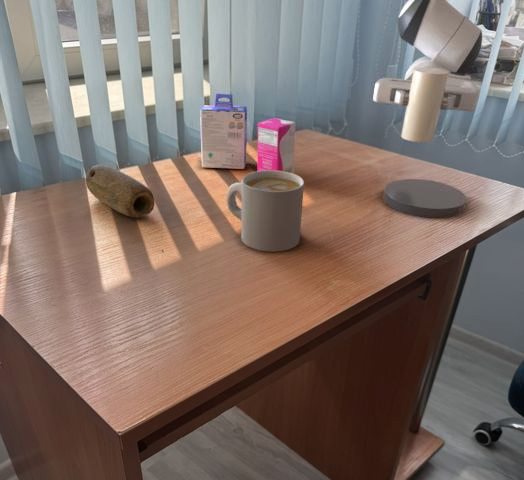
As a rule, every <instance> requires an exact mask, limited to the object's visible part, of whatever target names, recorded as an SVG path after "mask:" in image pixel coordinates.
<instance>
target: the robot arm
mask: <svg viewBox="0 0 524 480" xmlns="http://www.w3.org/2000/svg"><path fill="white" fill-rule="evenodd" d="M397 29H398V34H399V35H398V36H399V38H400V39H401V40H403V41H404V42H406V43H407V44H409V45H410V46H412V47H414V48H416V49H417V50H418V51H419V52H421V53H422V54H423V55H424V56H422V57H421V56H420V57H419V58H418V59H416V60H414V61H413V62H412V63H411V64H410V65H409V67H408V69H407V70H406V73H405V75H404V78H396V77H395V78H394V77H382V78H379V79H378V80H376V82H375V84H374V85H373V88H374V90H373V97H372V101H373V102H375V103H379V104H388V105H399V106H404V107H407V104H408V99H409V92H410V87H411V82H412V77H413V72H414V69H415V68H420V67H429V68H438V69H443V70H447V71H449V76H448V80H447V84H446V89H445V93H444V97H443V101H442V106H441V110H444V111H445V110H446V111H450V110H451V111H459V112H460V111H461V112H474V111H475V110H476V108H477V105H478V101H479V97H480V89H479V87H478V86H477V85H476V83H475V82H473V81H471V80H472V76H471V75H469V74H466V73H467V72H468V71H469V70H470V68H471V67H472V66H473V64H475V61H476V60H477V58H478V56H479V54H480V53H481V50H482V43H483V31H482V29H481V28H479V27H478V26H477V25H476V24H475V23H474V22H473V21H472V20H470V19H469V18H468V17H467V16H466V15H464V14H462V13H461V12H460V11H459V10H458V9H456V8H455V7H454V6H453V5H452V4H451V3H450V2H448V1H447V0H407V1H406V2H405V4H404V6H402V8H401V10H400V12H399V15H398V18H397ZM441 110H440V111H441Z"/></svg>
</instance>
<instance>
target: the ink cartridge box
mask: <svg viewBox="0 0 524 480" xmlns="http://www.w3.org/2000/svg"><path fill="white" fill-rule="evenodd" d="M222 98H223V99H224V98H225V99H227V100H229V101H223V100H222V101H221V100H219V99H222ZM199 120H200V121H199V122H200V147H201V148H200V149H201V151H200V154H201V168H209V169H211V168H212V169H213V168H214V169H216V168H217V169H233V170H234V169H236V170H245V167H246V164H247V144H248V143H247V141H248V140H247V139H248V108H247V106H246V105H234V103H233V94H228V93H227V94H225V93H216V94H215V102H214V105H213V104H212V105H211V104H203V105H202V107H201V109H199Z"/></svg>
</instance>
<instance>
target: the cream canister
mask: <svg viewBox="0 0 524 480" xmlns="http://www.w3.org/2000/svg"><path fill="white" fill-rule="evenodd" d="M448 76H449V71H447V70H443V69H438V68H429V67H420V68H415V69H414V72H413V77H412V82H411V87H410V92H409V99H408V104H407V106H405V107H406V108H405V113H404V118H403V122H402V128H401V133H400V137H401V138H402V139H403V140H406V141H409V142H412V143H424V144H425V143H431V142H433V141H434V140H435V136H436V131H437V127H438V123H439V119H440V114H441V106H442V101H443V97H444V93H445V89H446V84H447V80H448Z"/></svg>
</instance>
